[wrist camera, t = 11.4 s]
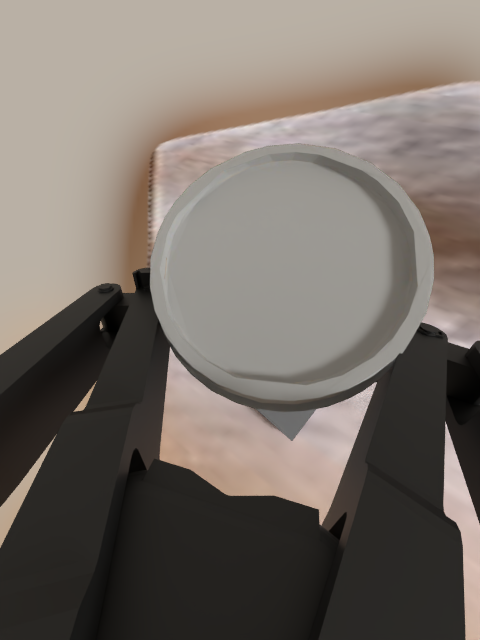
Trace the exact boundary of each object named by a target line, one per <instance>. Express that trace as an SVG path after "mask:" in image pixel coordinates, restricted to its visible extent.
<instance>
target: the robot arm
mask: <svg viewBox="0 0 480 640" xmlns="http://www.w3.org/2000/svg"><path fill="white" fill-rule="evenodd" d="M133 277H134V281H135V285H136V291H135V293H122V290H121V287H120V285H118V284H109V283H106V284H101V285H99V286H96V287H94V288H93V289H91V290H90V291H88V292H87V293H86V294H84V295H83V296H81V297H80V298H79V299H77V300H76V301H74V302H73V303H72V304H70V305H69V306H68V307H66V308H65V309H64V310H62V311H61V312H59V313H58V314H56V315H55V316H54V317H52V318H51V319H50V320H48V321H47V322H45V323H44V324H43V325H41V326H40V327H38V328H37V329H36V330H34V331H33V332H32V333H30V334H29V335H27V336H26V337H25V338H23V339H22V340H21V341H19V342H18V343H16V344H15V345H14V346H12V347H11V348H9V349H8V350H7V351H5V352H4V353H3V354H1V355H0V507H1V506H2V504H3V503H4V502H5V501H6V500H7V498H8V497H9V496H10V495H11V493H12V492H13V491H14V490H15V488H16V487H17V486H18V485H19V483H20V482H21V481H22V480H23V478H24V477H25V476H26V474H27V473H28V472H29V470H30V469H31V468H32V466H33V465H34V464H35V462H36V461H37V460H38V458H39V457H40V455H41V454H42V453H43V451H44V450H45V449H46V447H47V446H48V445H49V444H50V442H51V441H52V440H53V438H54V437H55V436H56V437H55V439H54V441H53V443H52V445H51V447H50V449H49V451H48V453H47V455H46V457H45V459H44V461H43V463H42V465H41V467H40V469H39V471H38V473H37V475H36V477H35V479H34V481H33V483H32V485H31V487H30V489H29V491H28V493H27V495H26V497H25V499H24V501H23V503H22V505H21V507H20V509H19V512H18V513H17V515H16V518H15V519H14V522H13V524H12V525H11V528H10V530H9V532H8V534H7V536H6V538H5V540H4V542H3V544H2V546H1V548H0V640H465V609H464V575H463V545H462V538H461V532H460V530H459V528H458V526H457V524H456V522H454V521H453V520H451V519H450V518H448V517H447V516H446V515H445V513H444V508H443V493H444V455H445V421H446V424H447V427H448V430H449V433H450V436H451V439H452V442H453V445H454V448H455V451H456V454H457V457H458V460H459V463H460V466H461V469H462V472H463V475H464V478H465V481H466V484H467V487H468V490H469V493H470V496H471V499H472V502H473V505H474V508H475V511H476V514H477V517H478V520H479V523H480V341H476V342H475V343H474V344H473V345H472V347H471V348H470V349H468V348H464V347H461V346H458V345H455V344H451V343H448V338H447V336H446V334H445V333H444V332H443V331H441V330H439V329H438V328H436V327H434V326H431V325H429V324H425V323H420V325H419V327H418V329H417V330H416V332H415V334H414V336H413V338H412V339H411V341H410V342H409V344H408V345H407V347H406V349H405V350H404V352H403V353H399V354H398V356H397V357H396V359H395V361H394V363H393V366H392V367H391V368H390V369H389V370H388V371H387V372H386V373H385V374H384V375H383V376H382V378H380V379H379V380H378V381H376V382H377V384H376V387H375V390H374V392H373V395H372V398H371V400H370V403H369V406H368V408H367V411H366V414H365V416H364V419H363V422H362V424H361V427H360V430H359V433H358V435H357V438H356V441H355V443H354V446H353V449H352V451H351V454H350V457H349V459H348V462H347V465H346V467H345V470H344V473H343V475H342V478H341V481H340V483H339V486H338V489H337V491H336V494H335V497H334V499H333V502H332V505H331V507H330V509H329V512H328V514H327V515H326V517H325V519H324V521H323V524H322V526H321V525H320V524H319V510H318V509H315V508H312V507H309V506H305V505H302V504H299V503H296V502H293V501H289V500H286V499H283V498H280V497H276V496H228V495H226V494H224V493H222V492H221V491H220V490H218V489H217V488H215V487H214V486H212V485H211V484H210V483H208V482H207V481H205V480H204V479H203V478H201V477H200V476H198V475H197V474H196V473H194V472H193V471H191V470H189V469H186V468H183V467H180V466H177V465H173V464H170V463H167V462H164V461H161V460H160V459H159V454H160V442H161V432H162V422H163V412H164V402H165V391H166V381H167V371H168V361H169V351H170V345H169V343H168V341H167V340H166V338H165V336H164V333H163V330H162V327H161V324H160V321H159V319H158V317H157V315H156V312H155V309H154V304H153V299H152V294H151V289H150V268H143V269H138V270H136V271H135V272H133ZM100 321H101V322H102V325H103V328H102V329H101V330H100V326H99V325H100ZM96 381H97V382H96ZM95 382H96V384H95ZM94 384H95V387H94V389H93V391H92V394H91V396H90V398H89V401H88V403H87V406H86V407H85V409H84V410H83V411H76V412H73V411H74V410H75V409H76V408H77V406H78V405H79V404H80V402H81V401H82V399H83V398H84V397H85V396H86V394H87V393H88V391H89V390H90V389H91V388H92V386H93V385H94ZM56 434H57V435H56Z"/></svg>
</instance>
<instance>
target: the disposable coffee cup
mask: <svg viewBox="0 0 480 640" xmlns="http://www.w3.org/2000/svg"><path fill="white" fill-rule="evenodd" d="M433 282H434V254H433V249H432V245H431V240H430V235H429V233H428V230H427V228H426V226H425V223H424V221H423V218H422V216H421V214H420V211H419V210H418V208H417V207H416V206H415V204H414V203H413V202H412V201H411V199H410V198H409V197H408V195H407V194H406V193H405V191H404V190H403V189H402V187H401V186H400V185H399V184H398V183H397V182H395V181H394V180H393V179H392V178H390V177H389V176H388V175H386V174H385V173H384V172H382V171H381V170H380V169H378V168H377V167H376V166H374V165H373V164H372V163H370V162H368V161H365V160H363V159H360V158H358V157H355V156H353V155H350V154H348V153H346V152H343V151H341V150H338V149H336V148H329V147H321V146H314V145H306V144H299V143H297V144H286V145H274V146H267V147H263V148H259V149H255V150H251V151H247V152H244V153H242V154H240V155H238V156H236V157H234V158H232V159H230V160H228V161H226V162H224V163H222V164H220V165H217V166H215V167H213V168H211V169H210V170H209V171H207V172H206V173H205V174H203V175H202V176H201V177H200V178H198V179H197V180H196V181H195V182H193V183H192V184H191V185H190V186H189V187H188V188H187V189H186V190H185V191H184V193H183V194H182V195H181V196H180V197H179V198H178V199H177V200H176V201H175V203H174V204H173V206H172V207H171V209H170V210H169V212H168V214H167V215H166V217H165V218H164V221H163V223H162V225H161V227H160V229H159V232H158V234H157V237H156V241H155V244H154V248H153V251H152V255H151V265H150V289H151V294H152V299H153V304H154V309H155V312H156V315H157V317H158V319H159V321H160V324H161V327H162V330H163V333H164V336H165V338H166V340H167V341H168V343H169V345H170V347H171V349H172V350H173V352H174V354H175V356H176V357H177V358H178V360H179V361H180V362H181V363H182V364H183V365H184V367H185V368H186V369H187V370H188V371H189V372H190V374H191V375H193V376H194V377H195V378H196V379H198V380H199V381H200V382H201V383H203V384H204V385H205V386H206V387H208V388H209V389H210V390H211V391H213V392H215V393H217V394H219V395H221V396H223V397H225V398H227V399H230V400H232V401H234V402H236V403H239V404H242V405H245V406H249V407H252V408H255V409H262V410H270V411H277V412H295V411H307V410H312V409H318V408H323V407H328V406H330V405H333V404H336V403H338V402H341V401H344V400H346V399H349V398H351V397H353V396H354V395H356V394H358V393H360V392H362V391H363V390H365V389H366V388H368V387H369V386H371V385H372V384H373V383H375V382H376V381H378V380H379V379H380V378H382V376H383V375H384V374H385V373H386V372H387V371H388V370H389V369H390V368H391V367H392V366H393V363H394V361H395V359H396V357H397V356H398V354H399V353H403V352H404V350H405V349H406V347H407V345H408V344H409V342H410V341H411V339H412V338H413V336H414V334H415V332H416V330H417V329H418V327H419V325H420V323H421V322H422V320H423V318H424V316H425V314H426V312H427V308H428V303H429V299H430V295H431V290H432V286H433Z"/></svg>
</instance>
